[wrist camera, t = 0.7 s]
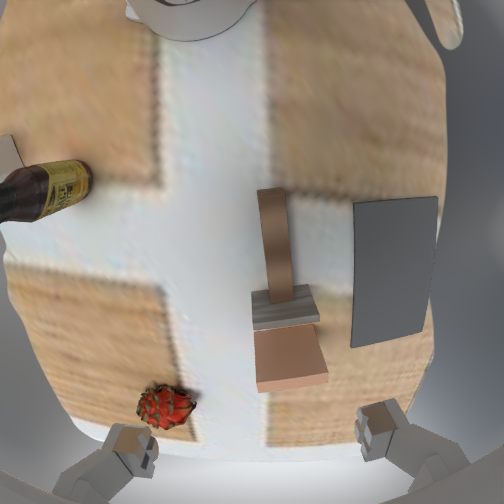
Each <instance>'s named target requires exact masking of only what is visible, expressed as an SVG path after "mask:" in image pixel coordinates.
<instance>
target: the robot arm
mask: <svg viewBox="0 0 504 504" xmlns="http://www.w3.org/2000/svg"><path fill="white" fill-rule="evenodd" d="M125 1H126V2H127V7H126V16H127V18H128V19H129V20H131V21H135V22H139V23H143V24H145V25H147V26H148V27H149V28H150V29H151V30H152V31H154V32H155V33H156V34H158V35H160V36H162V37H165V38H168V39H172V40H178V41H193V40H200V39H204V38H208V37H211V36H214V35H216V34H219V33H221V32H223V31H224V30H226V29H228V28H229V27H231V26H232V25H233V24H235V23H236V22H237V21H238V20H239V19H240V18H241V17H242V15H243V14H244V13H245V11H246V10H247V8H248V7H249V5H250V4H251V3H252V2H254V1H256V0H125ZM356 415H357V417H358V419H357V420H356V421H355V435H356V439H357V442H358V443H360V444H362V446H361V453H362V455H363V458H364V460H365V462H368V461H372V460H376V459H379V458H383V457H386V459H388V460H389V461H390V462H392V463H393V464H395V465H396V466H398V467H399V468H400V469H402V470H403V471H405V472H406V473H408V474H409V475H411V476H412V477H414V478H415V479H414V481H413V483H412V485H411V486H410V488H409V490H408V494H406V495H403V496H400V497H398V498H395V499H392V500H389V501H386V502H383V503H380V504H504V444H503V445H502V446H500V447H499V448H497V449H496V450H494V451H492V452H491V453H489V454H488V455H486V456H484V457H483V458H481V459H479V460H478V461H476V462H474V463H473V464H470V462H469V460H468V459H467V457H466V456H465V454H464V452H463V451H462V449H461V448H460V446H459V445H458V443H455V442H453V441H451V440H448V439H446V438H444V437H442V436H439V435H437V434H435V433H433V432H430V431H428V430H426V429H424V428H422V427H420V426H417V425H415V424H411V425H410V423H409V422H408V420H407V418H406V416H405V415H404V413H403V411H402V410H401V408H400V406H399V404H398V403H397V401H396V399H394V398H392V399H389V400H385V401H382V402H378V403H374V404H370V405H367V406H363V407H359V408H358V409H357V412H356ZM151 433H152V431H151V430H150V428H149V427H148V426H139V425H129V424H120V423H114V424H113V425H112V427H111V429H110V431H109V433H108V436H107V438H106V440H105V442H104V444H103V446H102V449H101V450H100V449H98V450H96V451H95V452H93V453H92V454H90V455H89V456H87V457H86V458H84V459H83V460H81V461H80V462H78V463H76V464H75V465H73V466H72V467H70V468H69V469H67V470H65V471H64V472H62V473H61V475H60V477H59V479H58V481H57V483H56V485H55V487H54V489H53V491H52V493H50V492H47V491H45V490H42V489H40V488H38V487H35V486H33V485H31V484H29V483H27V482H25V481H22V480H20V479H18V478H16V477H14V476H12V475H10V474H8V473H6V472H5V471H3V470H1V469H0V504H110V503H109V502H108V501H109V500H111V499H112V498H113V497H114V496H115V495H116V494H117V493H118V492H119V491H120V490H121V489H122V488H123V487H124V486H125V485H126V484H127V483H128V482H130V481H131V480H132V479H133V477H143V478H152V477H153V472H154V469H155V465H154V464H153V462H154V461H155V460H156V459H157V458H158V454H159V447H158V443H157V441H156V439H155V438H154V437H152V436H151Z"/></svg>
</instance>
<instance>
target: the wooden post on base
mask: <svg viewBox="0 0 504 504" xmlns="http://www.w3.org/2000/svg"><path fill="white" fill-rule="evenodd" d="M257 196H258V204H259V212H260V220H261V228H262V236H263V244H264V252H265V261H266V269H267V277H268V286H269V290H262V291H254V292H251V297H252V319H253V329H254V330H262V329H270V328H278V327H285V326H292V325H299V324H306V323H312V322H319V321H320V314H319V312H318V309H317V307H316V304H315V302H314V299H313V297H312V294H311V292H310V290H309V287H308V285H307V284H306V285H299V286H293V278H292V266H291V254H290V243H289V232H288V221H287V211H286V201H285V193H284V191H283V190H282V189H281V188H272V189H264V190H257Z"/></svg>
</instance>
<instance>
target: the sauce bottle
mask: <svg viewBox="0 0 504 504" xmlns="http://www.w3.org/2000/svg"><path fill="white" fill-rule="evenodd" d="M91 181H92V180H91V175H90V172H89V169H88V168H87V166H86V165H85V164H83V163H82V162H80V161H77V160H64V161H57V162H49V163H43V164H36V165H31V166H28V167H22V168H19V169H16V170H14V171H13V172H11V173H10V174H9V175H8V176H7V177H6V178H5V180H4V181H3V182H2V183H0V224H1V223H2V222H5V221H17V222H34V221H37V220H39V219H41V218H43V217H45V216H48V215H51V214H53V213H55V212H57V211H60V210H62V209H64V208H66V207H69V206H71V205H74V204H76V203H78V202H79V201H81V200H82V199H83V198H85V197H86V196H87V194H88V192H89V190H90V186H91Z"/></svg>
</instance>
